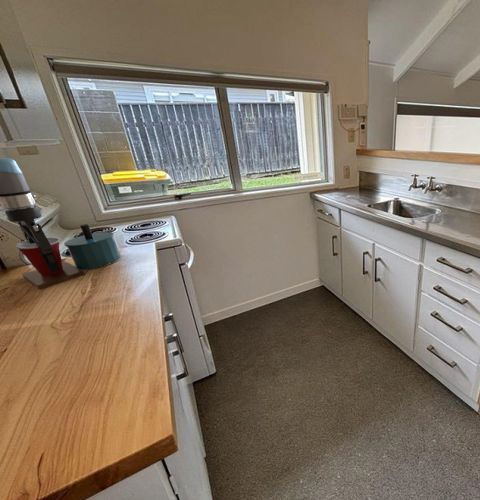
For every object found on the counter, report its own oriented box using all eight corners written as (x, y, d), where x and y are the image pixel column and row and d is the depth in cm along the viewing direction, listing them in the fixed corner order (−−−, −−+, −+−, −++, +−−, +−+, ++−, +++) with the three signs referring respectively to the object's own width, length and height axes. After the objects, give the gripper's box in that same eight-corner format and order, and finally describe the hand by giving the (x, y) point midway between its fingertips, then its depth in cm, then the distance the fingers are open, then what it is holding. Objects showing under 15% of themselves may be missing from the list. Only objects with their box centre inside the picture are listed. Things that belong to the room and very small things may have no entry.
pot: (67, 271, 106) (56, 247, 102) (93, 256, 118) (84, 235, 115) (106, 267, 107) (96, 244, 104) (127, 254, 120) (120, 233, 116)
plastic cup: (59, 276, 98) (44, 244, 93) (22, 281, 96) (5, 248, 91) (80, 264, 108) (67, 234, 103) (47, 267, 106) (32, 237, 101)
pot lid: (54, 249, 102) (46, 232, 100) (84, 236, 116) (77, 220, 113) (97, 246, 103) (90, 229, 101) (122, 233, 117) (116, 218, 114)
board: (39, 289, 93) (37, 285, 93) (23, 277, 102) (21, 274, 101) (85, 274, 103) (83, 270, 102) (67, 265, 111) (65, 261, 111)
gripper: (47, 208, 90) (76, 270, 98) (26, 202, 101) (53, 258, 110) (13, 214, 84) (46, 279, 92) (-5, 207, 95) (26, 265, 104)
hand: (50, 268), depth 101 cm, fingers open, 10 cm apart
